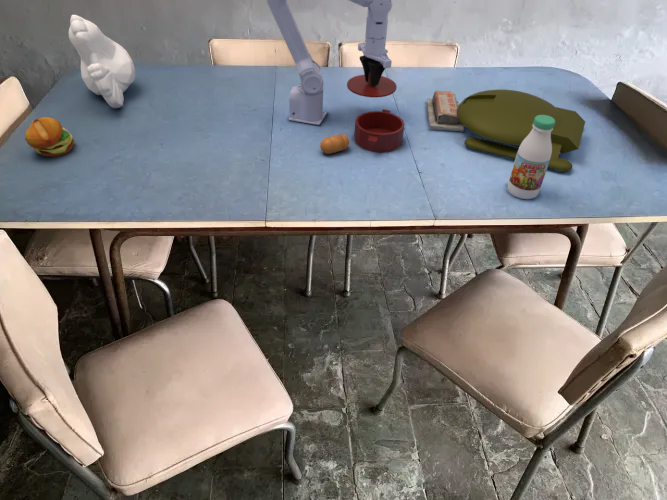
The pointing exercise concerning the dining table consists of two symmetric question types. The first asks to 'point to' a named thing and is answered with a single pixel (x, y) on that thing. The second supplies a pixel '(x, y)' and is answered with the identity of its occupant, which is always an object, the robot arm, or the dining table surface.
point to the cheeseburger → (49, 137)
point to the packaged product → (443, 112)
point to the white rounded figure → (101, 61)
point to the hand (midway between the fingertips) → (371, 83)
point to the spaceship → (517, 124)
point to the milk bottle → (532, 159)
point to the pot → (379, 131)
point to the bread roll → (334, 143)
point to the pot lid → (365, 88)
